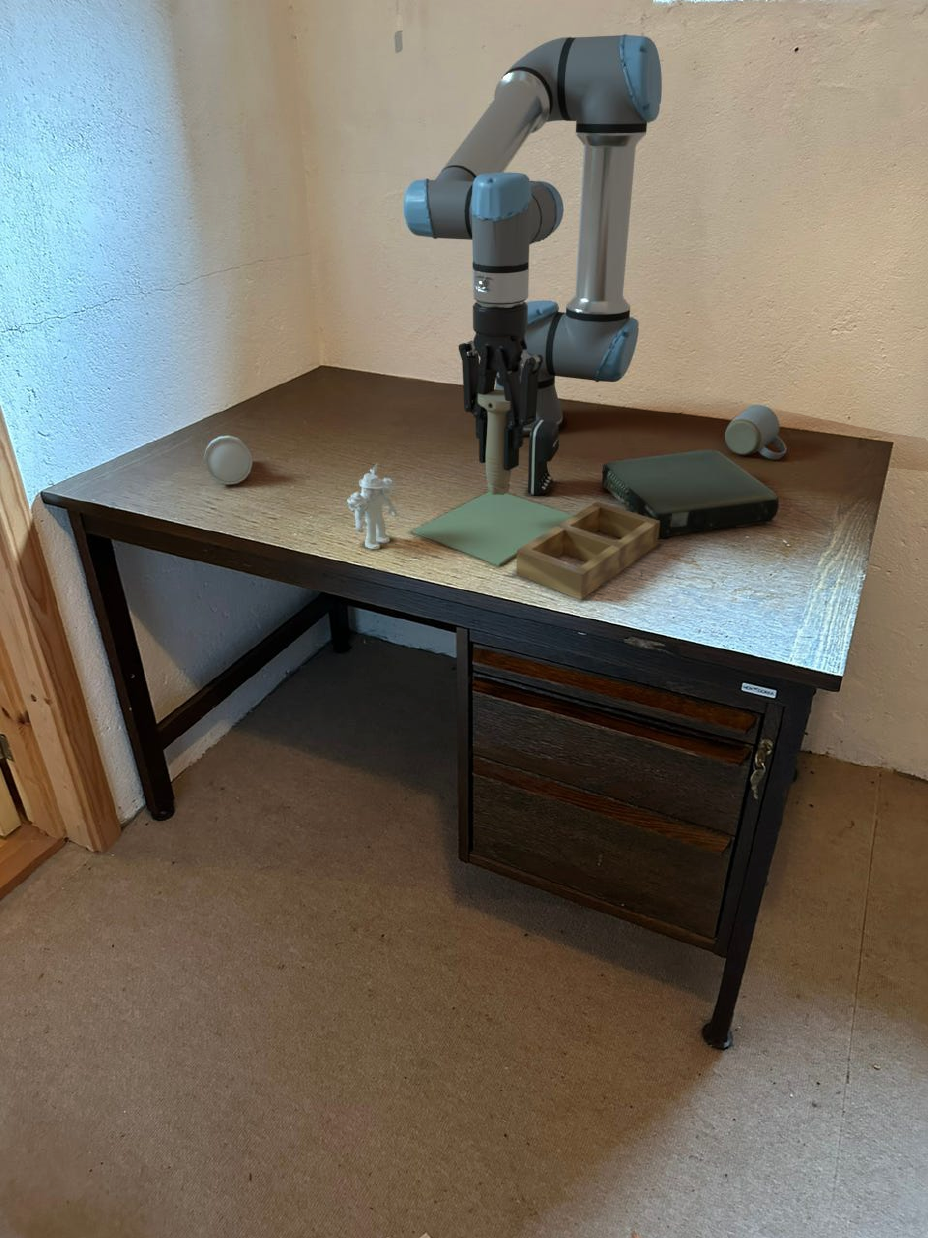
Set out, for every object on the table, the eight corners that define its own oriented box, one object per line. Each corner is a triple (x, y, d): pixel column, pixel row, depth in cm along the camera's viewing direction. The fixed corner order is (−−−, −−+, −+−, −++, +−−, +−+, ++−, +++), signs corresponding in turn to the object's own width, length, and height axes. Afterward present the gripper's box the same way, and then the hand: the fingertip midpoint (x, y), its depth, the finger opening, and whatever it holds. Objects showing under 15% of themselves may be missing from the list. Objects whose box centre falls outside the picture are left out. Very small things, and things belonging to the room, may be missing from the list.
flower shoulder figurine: (386, 528, 134) (381, 456, 128) (405, 535, 132) (401, 462, 126) (346, 551, 128) (339, 476, 122) (366, 558, 126) (359, 482, 120)
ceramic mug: (719, 452, 158) (725, 412, 154) (737, 439, 164) (744, 400, 160) (774, 466, 153) (783, 425, 149) (791, 452, 158) (800, 412, 154)
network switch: (586, 490, 145) (588, 462, 143) (702, 468, 152) (706, 441, 150) (662, 549, 127) (666, 518, 124) (790, 521, 134) (797, 492, 131)
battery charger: (549, 498, 143) (551, 432, 137) (526, 495, 144) (528, 430, 138) (558, 482, 148) (561, 418, 142) (537, 479, 149) (539, 416, 143)
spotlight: (203, 483, 147) (204, 436, 144) (203, 471, 157) (204, 427, 154) (251, 486, 149) (253, 439, 146) (249, 474, 159) (250, 431, 157)
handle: (507, 502, 128) (509, 403, 120) (472, 492, 131) (471, 396, 123) (524, 491, 131) (527, 394, 123) (489, 481, 134) (489, 387, 126)
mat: (493, 491, 146) (493, 488, 145) (576, 518, 136) (576, 516, 136) (413, 532, 133) (413, 530, 133) (498, 566, 123) (498, 563, 123)
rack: (595, 524, 134) (597, 501, 132) (657, 545, 128) (660, 520, 126) (516, 574, 121) (516, 549, 119) (580, 600, 115) (582, 574, 113)
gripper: (435, 298, 118) (439, 457, 131) (534, 315, 109) (529, 485, 121) (469, 288, 123) (471, 443, 136) (568, 304, 114) (559, 469, 126)
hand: (498, 463), depth 128 cm, fingers closed on handle, 4 cm apart
